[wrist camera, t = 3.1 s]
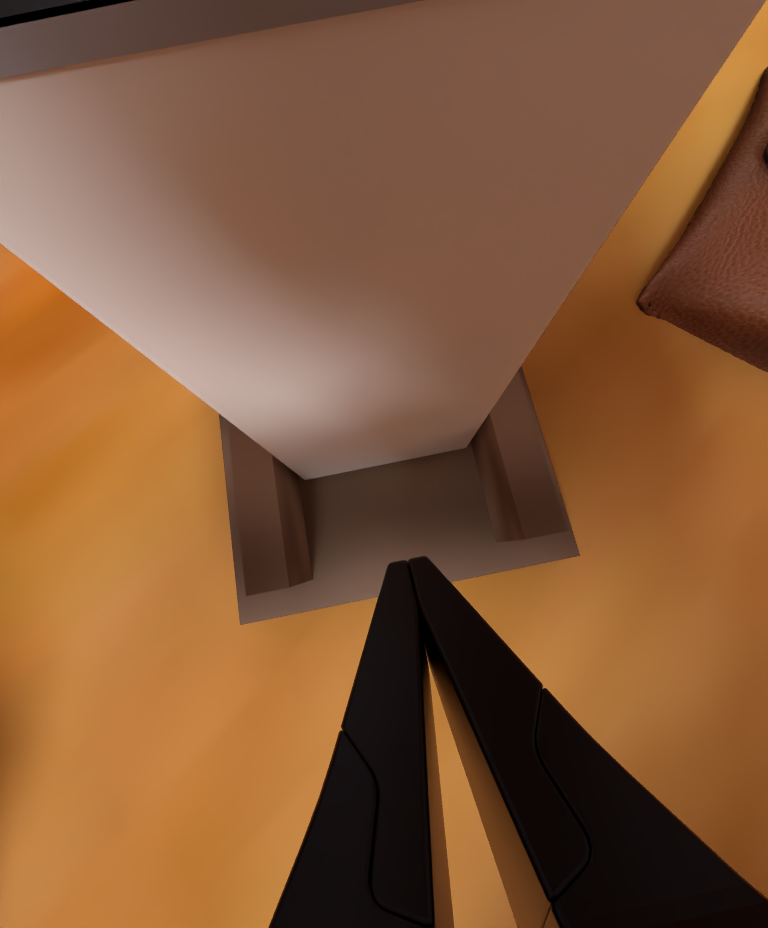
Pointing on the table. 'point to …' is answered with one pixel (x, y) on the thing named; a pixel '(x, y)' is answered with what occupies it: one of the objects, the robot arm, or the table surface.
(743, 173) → the sunglasses case
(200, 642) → the table surface
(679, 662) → the table surface
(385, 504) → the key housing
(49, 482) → the table surface
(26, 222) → the ivory key
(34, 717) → the table surface
